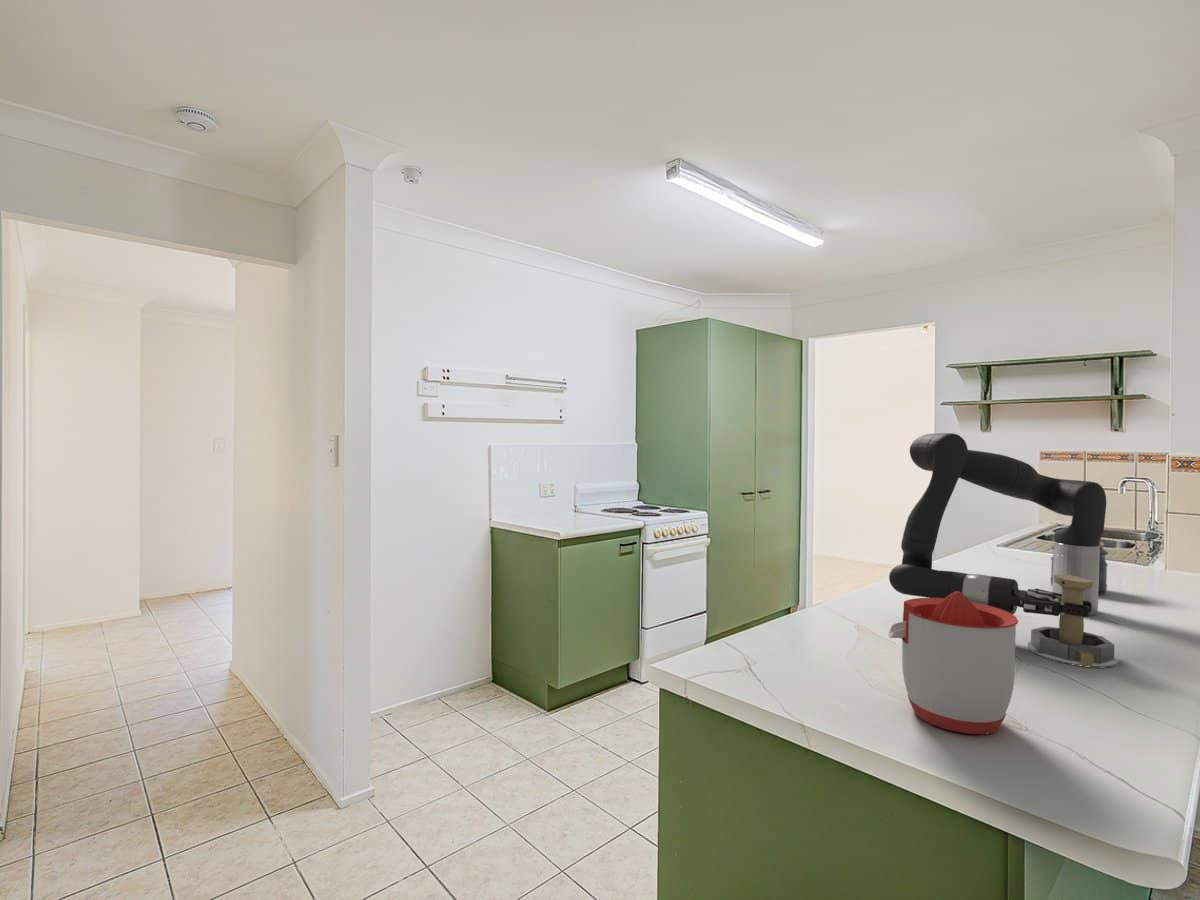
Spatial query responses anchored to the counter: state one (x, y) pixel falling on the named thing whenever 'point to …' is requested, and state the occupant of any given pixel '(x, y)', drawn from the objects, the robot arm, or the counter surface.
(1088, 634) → the grey shallow octagonal dish
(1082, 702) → the counter surface
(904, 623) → the citrus juicer
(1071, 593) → the handle
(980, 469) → the robot arm
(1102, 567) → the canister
